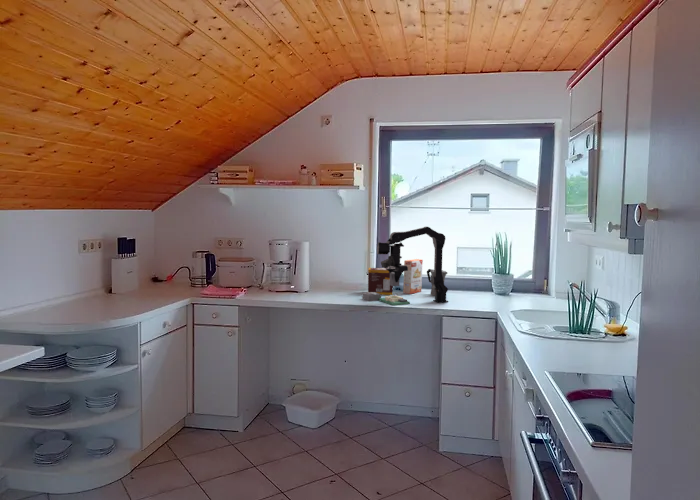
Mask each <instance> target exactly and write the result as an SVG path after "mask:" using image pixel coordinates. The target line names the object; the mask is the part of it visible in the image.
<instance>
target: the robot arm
mask: <svg viewBox="0 0 700 500" xmlns="http://www.w3.org/2000/svg"><path fill="white" fill-rule="evenodd" d="M423 235H427V236H428V237H429V238H432V244H433V248H434V262H433V263H434V266H433V267H434V268H433V270H434V274H433V276H431V275H430V280H431V281H430V282H429V283H431V287H432V286H433V287H434V289H435V296H434V299H433V300H432V301H433V302H436V303H439V304H440V303H449V301H448V300H447V293H448V290H449V288H448V287H447V286H446V285H445V281H444V279H443V276H442V270H443V250H444V246H445V243H446V235H444V234H443V233H440V232H437V231H436V230H435V229H433V228H431V227H430V226H423V227H420V228H416V229H412V230H406V231H394V232H391V233H390V235H389V238H388V240H387V241H386V242H381V241H380V242H379V241H378V242H377V247H376V254H377V255H388V254H389V255H388V258H386V259H384V260H382V261H380V264H381V265H380V266H381V268H387V269H386V270H388V271H389V273H391V272H394V273H395V281H396V282H398V280H399V281H400V279H401V276H402V275H403V274H404V271H408V267H407V266H405V265H404V264H402V263H401V259H402V258H403V256H401V247H405V245H404V244H403V241H405V240H407V239H410V238H414V237H418V236H423Z"/></svg>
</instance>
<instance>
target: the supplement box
mask: <svg viewBox="0 0 700 500" xmlns="http://www.w3.org/2000/svg"><path fill="white" fill-rule="evenodd" d="M386 269H387V268H384V267H383V268H382V267H368V271H367V273H368V274H367V292H376V293H379V294H381V296H394V293H393V291H394V289H393V288H394V286H391V285H390V273H389V271H388V270H386Z"/></svg>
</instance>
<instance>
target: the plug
mask: <svg viewBox="0 0 700 500" xmlns="http://www.w3.org/2000/svg"><path fill="white" fill-rule="evenodd" d="M390 285H391V286H393V287H399V286H400V279H399V280H398V282H396V281H395V273H394V272H391V273H390Z"/></svg>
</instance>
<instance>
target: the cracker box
mask: <svg viewBox="0 0 700 500" xmlns="http://www.w3.org/2000/svg"><path fill="white" fill-rule="evenodd" d="M423 261H424V260H423V259H419V258H418V259H417V258H416V259H415V258H414V259H407V260H404V262H403V263H404V264H403V265H405V266H407V267H408V271H403V285H402V288H403V289H402V293H403V294H408V295H412V294H417V293H420V292H422V284H423V283H422V281H423V264H424V263H423Z"/></svg>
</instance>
